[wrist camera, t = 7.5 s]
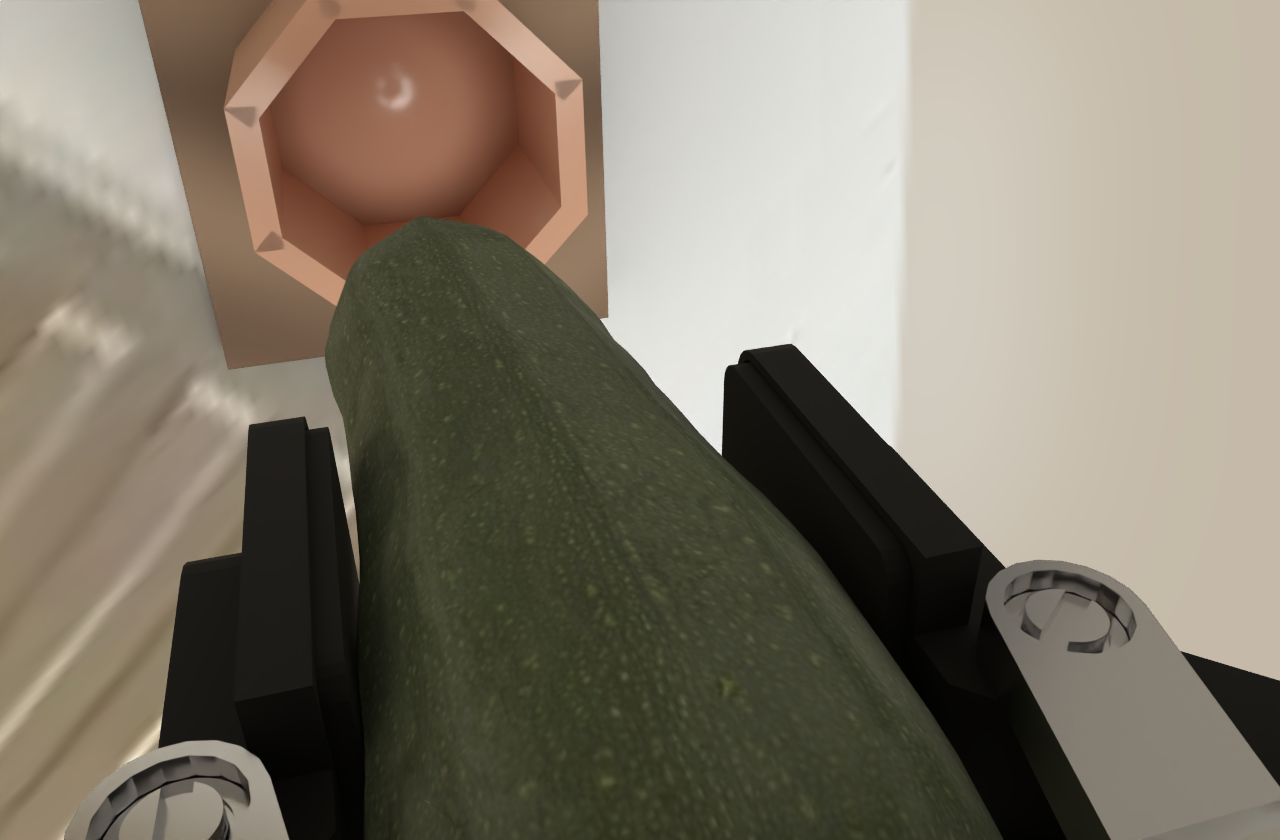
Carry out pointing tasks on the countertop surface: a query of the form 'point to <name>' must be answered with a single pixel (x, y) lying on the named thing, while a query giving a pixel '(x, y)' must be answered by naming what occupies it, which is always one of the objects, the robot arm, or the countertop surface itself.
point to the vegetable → (592, 590)
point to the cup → (400, 129)
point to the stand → (236, 276)
